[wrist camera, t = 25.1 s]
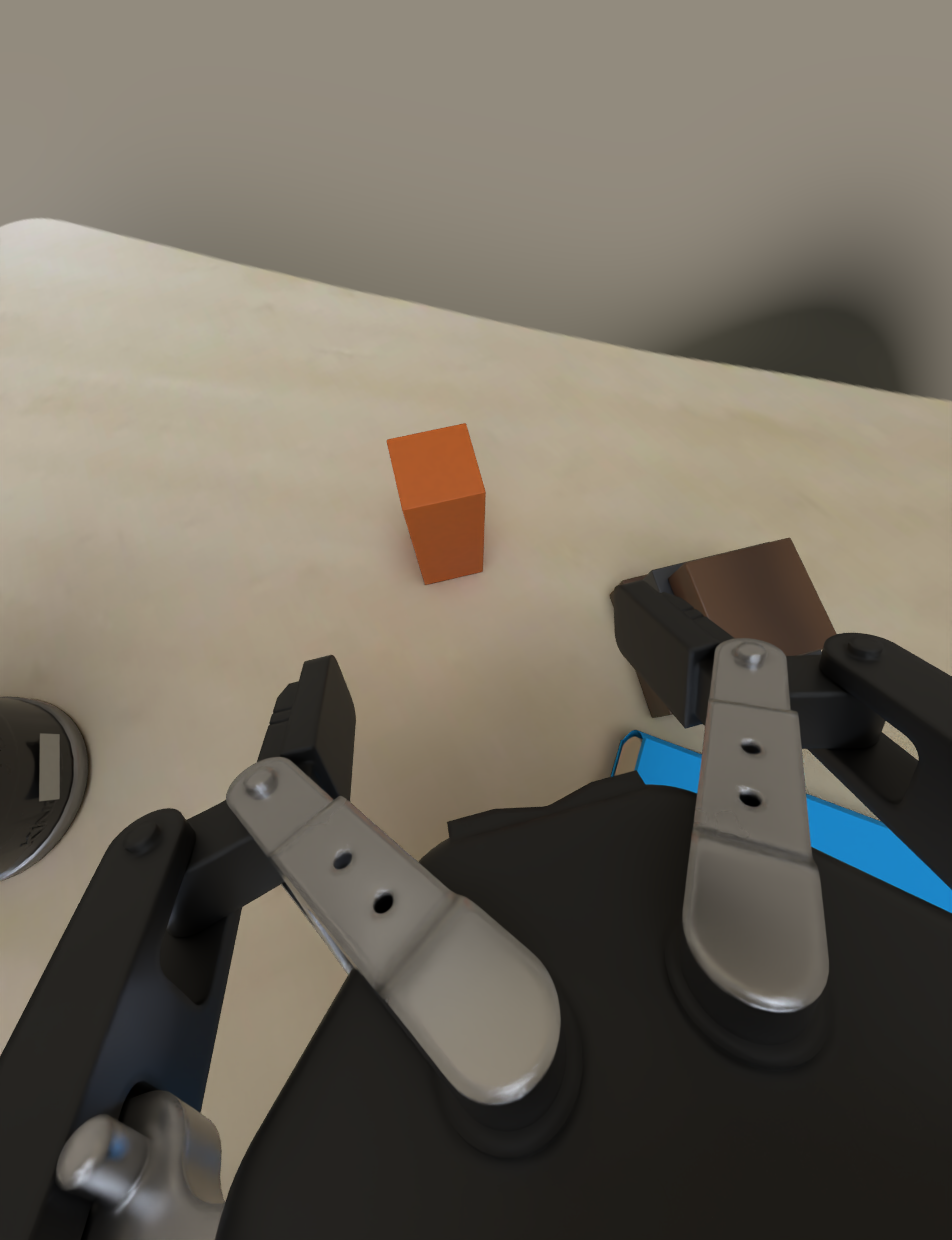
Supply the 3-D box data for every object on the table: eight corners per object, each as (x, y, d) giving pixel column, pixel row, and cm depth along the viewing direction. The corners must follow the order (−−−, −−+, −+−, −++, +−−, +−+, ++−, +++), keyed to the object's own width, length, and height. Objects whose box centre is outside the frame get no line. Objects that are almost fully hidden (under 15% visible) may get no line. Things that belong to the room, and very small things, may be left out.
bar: (425, 585, 28) (402, 510, 19) (413, 532, 29) (386, 439, 20) (482, 571, 28) (485, 492, 20) (468, 520, 29) (465, 422, 21)
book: (1258, 1497, 15) (534, 1171, 17) (1088, 1336, 19) (521, 1089, 21) (1221, 933, 20) (647, 726, 22) (1089, 901, 24) (619, 729, 26)
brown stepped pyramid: (652, 718, 26) (714, 706, 19) (609, 595, 28) (651, 545, 21) (776, 685, 26) (879, 663, 20) (725, 566, 28) (803, 509, 22)
